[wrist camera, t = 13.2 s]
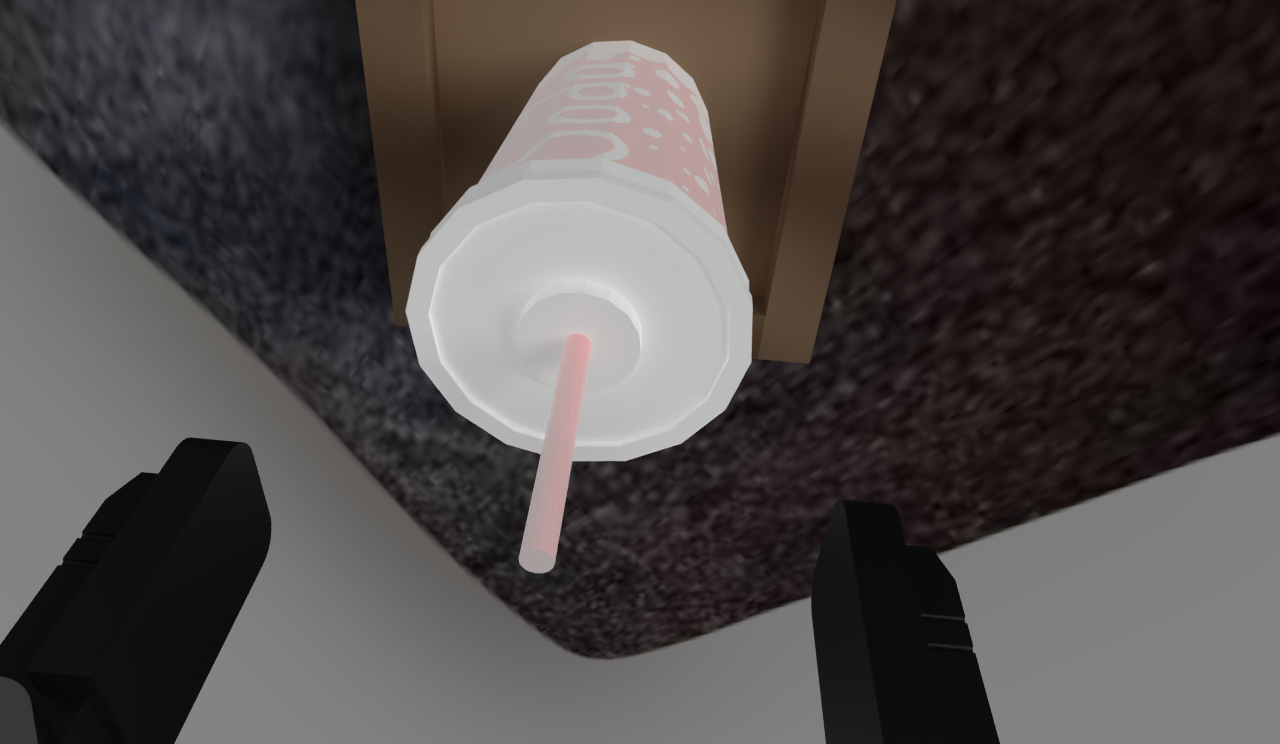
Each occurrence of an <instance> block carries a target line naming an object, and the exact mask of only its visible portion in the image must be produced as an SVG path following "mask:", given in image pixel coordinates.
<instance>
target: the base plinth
mask: <svg viewBox="0 0 1280 744" xmlns="http://www.w3.org/2000/svg"><path fill="white" fill-rule="evenodd" d="M355 2H356V10H357V18H358V26H359V35H360V43H361V51H362V59H363V67H364V75H365V83H366V92H367V100H368V108H369V116H370V124H371V132H372V140H373V148H374V157H375V165H376V173H377V181H378V189H379V197H380V205H381V214H382V222H383V230H384V238H385V246H386V254H387V262H388V270H389V279H390V287H391V295H392V303H393V311H394V319H395V326H406V327H410V326H409V323H408V319H407V315H406V306H407V302H408V297H409V293H410V288H411V284H412V279H413V274H414V270H415V265H416V261H417V256H418V254H419V252H420V250H421V248H422V246H423V245H424V244H425V243H426V242H427V241H428V239H429V238H430V235H431V232H432V231H433V230H434V229H435V228H436V226H437V225H438V224H439V223H440V222H441V221H442V219H443V218H444V217H445V216H446V215H447V214H448V212H449V211H450V210H451V209H452V208H453V206H454V205H455V204H456V203H457V202H458V201H459V199H460V198H461V197H462V196H463V195H464V194H465V192H466V191H467V190H468V189H469V188H470V187H472V186H474V185H476V184H478V183H479V181H480V179H481V178H482V176H483V175H484V173H485V171H486V170H487V168H488V166H489V165H490V163H491V161H492V160H493V158H494V157H495V155H496V153H497V152H498V150H499V148H500V147H501V145H502V144H503V142H504V140H505V139H506V137H507V135H508V134H509V132H510V130H511V129H512V127H513V126H514V124H515V122H516V121H517V119H518V117H519V116H520V114H521V112H522V111H523V109H524V108H525V106H526V104H527V103H528V101H529V99H530V98H531V96H532V94H533V93H534V91H535V90H536V88H537V86H538V85H539V83H540V82H541V81H542V80H543V79H544V77H545V76H546V75H547V74H548V73H549V72H550V70H551V69H552V68H553V67H554V66H555V64H556V63H557V62H558V61H559V60H560V58H562V57H564V56H566V55H568V54H570V53H572V52H574V51H576V50H578V49H580V48H582V47H584V46H586V45H589V44H591V43H593V42H606V41H634V42H636V43H639V44H642V45H644V46H647V47H650V48H652V49H655V50H658V51H660V52H663V53H666V54H667V55H668V56H669V57H670V58H671V59H672V60H673V61H675V62H676V63H677V64H678V65H679V66H680V67H681V68H682V69H683V70H684V71H685V72H686V73H687V74H688V75H690V76H691V77H692V78H693V80H694V82H695V84H696V86H697V89H698V91H699V93H700V95H701V98H702V100H703V102H704V104H705V107H706V109H707V111H708V117H709V123H710V129H711V135H712V142H713V148H714V154H715V160H716V166H717V172H718V179H719V185H720V191H721V197H722V203H723V209H724V215H725V222H726V228H727V234H728V237H729V239H730V242H731V244H732V246H733V248H734V250H735V252H736V254H737V256H738V258H739V261H740V263H741V265H742V267H743V269H744V271H745V273H746V275H747V277H748V280H749V291H750V294H751V296H752V304H753V313H752V354H751V358H754V359H765V360H775V361H786V362H797V363H808V364H809V363H810V359H811V355H812V351H813V346H814V342H815V338H816V334H817V330H818V326H819V321H820V317H821V313H822V309H823V305H824V301H825V296H826V292H827V288H828V284H829V280H830V276H831V271H832V267H833V263H834V259H835V255H836V251H837V246H838V242H839V238H840V234H841V230H842V226H843V221H844V217H845V213H846V209H847V205H848V200H849V196H850V192H851V188H852V184H853V180H854V175H855V171H856V167H857V163H858V159H859V155H860V150H861V146H862V142H863V138H864V134H865V130H866V125H867V121H868V117H869V113H870V109H871V105H872V100H873V96H874V92H875V88H876V84H877V80H878V75H879V71H880V67H881V63H882V59H883V55H884V50H885V46H886V42H887V38H888V34H889V29H890V25H891V21H892V17H893V13H894V9H895V4H896V0H355Z"/></svg>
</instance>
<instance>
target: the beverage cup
mask: <svg viewBox="0 0 1280 744" xmlns="http://www.w3.org/2000/svg"><path fill="white" fill-rule="evenodd" d="M752 313H753V304H752V296H751V294H750V291H749V280H748V277H747V275H746V273H745V271H744V269H743V267H742V265H741V263H740V261H739V258H738V256H737V254H736V252H735V250H734V248H733V246H732V244H731V242H730V239H729V237H728V234H727V228H726V222H725V215H724V209H723V203H722V197H721V191H720V185H719V179H718V172H717V166H716V160H715V154H714V148H713V142H712V135H711V129H710V123H709V117H708V111H707V109H706V107H705V104H704V102H703V100H702V98H701V95H700V93H699V91H698V89H697V86H696V84H695V82H694V80H693V78H692V77H691V76H690V75H688V74H687V73H686V72H685V71H684V70H683V69H682V68H681V67H680V66H679V65H678V64H677V63H676V62H675V61H673V60H672V59H671V58H670V57H669V56H668V55H667V54H666V53H663V52H660V51H658V50H655V49H652V48H650V47H647V46H644V45H642V44H639V43H636V42H634V41H606V42H593V43H591V44H589V45H586V46H584V47H582V48H580V49H578V50H576V51H574V52H572V53H570V54H568V55H566V56H564V57H562V58H560V60H559V61H558V62H557V63H556V64H555V66H554V67H553V68H552V69H551V70H550V72H549V73H548V74H547V75H546V76H545V77H544V79H543V80H542V81H541V82H540V83H539V85H538V86H537V88H536V90H535V91H534V93H533V94H532V96H531V98H530V99H529V101H528V103H527V104H526V106H525V108H524V109H523V111H522V112H521V114H520V116H519V117H518V119H517V121H516V122H515V124H514V126H513V127H512V129H511V130H510V132H509V134H508V135H507V137H506V139H505V140H504V142H503V144H502V145H501V147H500V148H499V150H498V152H497V153H496V155H495V157H494V158H493V160H492V161H491V163H490V165H489V166H488V168H487V170H486V171H485V173H484V175H483V176H482V178H481V179H480V181H479V183H478V184H476V185H474V186H472V187H470V188H469V189H468V190H467V191H466V192H465V194H464V195H463V196H462V197H461V198H460V199H459V201H458V202H457V203H456V204H455V205H454V206H453V208H452V209H451V210H450V211H449V212H448V214H447V215H446V216H445V217H444V218H443V219H442V221H441V222H440V223H439V224H438V225H437V226H436V228H435V229H434V230H433V231H432V232H431V235H430V238H429V239H428V241H427V242H426V243H425V244H424V245H423V246H422V248H421V250H420V252H419V254H418V256H417V261H416V265H415V270H414V274H413V279H412V284H411V288H410V293H409V297H408V302H407V306H406V315H407V319H408V323H409V326H410V330H411V334H412V338H413V341H414V345H415V349H416V353H417V357H418V360H419V364H420V366H421V368H422V369H423V370H424V371H425V373H426V374H427V375H428V377H429V378H430V379H431V380H432V382H433V383H434V384H435V386H436V387H437V388H438V389H439V391H440V392H441V393H442V394H443V396H444V397H445V398H446V400H447V401H448V402H449V403H450V405H451V406H452V407H453V409H454V410H455V411H456V412H457V413H459V414H461V415H462V416H464V417H465V418H467V419H468V420H470V421H471V422H473V423H474V424H476V425H478V426H479V427H481V428H482V429H484V430H485V431H487V432H488V433H490V434H491V435H493V436H495V437H496V438H498V439H499V440H501V441H502V442H504V443H505V444H508V445H511V446H515V447H518V448H522V449H525V450H529V451H532V452H535V453H539V454H541V457H540V461H539V466H538V471H537V476H536V480H535V485H534V490H533V494H532V499H531V504H530V509H529V513H528V518H527V523H526V527H525V532H524V537H523V542H522V546H521V551H520V556H519V563H520V565H521V566H522V567H523V568H524V569H526V570H528V571H530V572H534V573H544V572H548V571H550V570H551V569H552V568H553V566H554V564H555V559H556V553H557V547H558V541H559V535H560V529H561V524H562V518H563V512H564V506H565V500H566V494H567V488H568V483H569V477H570V471H571V465H572V461H627V460H630V459H633V458H636V457H639V456H643V455H646V454H649V453H652V452H655V451H659V450H662V449H665V448H668V447H671V446H675V445H678V444H681V443H682V442H684V441H685V440H686V439H688V438H689V437H690V436H691V435H693V434H694V433H695V432H697V431H698V430H699V429H701V428H702V427H703V426H705V425H706V424H707V423H708V422H710V421H711V420H712V419H714V418H715V417H716V416H718V415H719V414H720V413H722V412H723V411H724V410H725V409H726V407H727V406H728V404H729V402H730V400H731V398H732V396H733V395H734V393H735V391H736V389H737V387H738V385H739V384H740V382H741V380H742V378H743V376H744V374H745V373H746V371H747V369H748V367H749V365H750V363H751V354H752Z"/></svg>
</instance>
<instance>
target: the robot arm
mask: <svg viewBox="0 0 1280 744" xmlns="http://www.w3.org/2000/svg"><path fill="white" fill-rule="evenodd" d="M82 533H83V534H82V537H81V538H77V540H76V541H75V543H74V544H73V545H72V546H71V548H70V549H69V551H68V552H67V554H66V555H65V556H64V558H63V564H62V565H58V566H57V567H56V569H55V570H54V571H53V573H52V574H51V576H50V577H49V578H48V580H47V581H46V582H45V584H44V585H43V587H42V588H41V589H40V591H39V592H38V593H37V595H36V596H35V598H34V599H33V601H32V602H31V603H30V605H29V606H28V607H27V609H26V610H25V612H24V613H23V614H22V616H21V617H20V618H19V620H18V621H17V623H16V624H15V625H14V627H13V628H12V629H11V631H10V632H9V634H8V635H7V636H6V638H5V639H4V641H3V642H2V643H1V645H0V744H174V743H175V741H176V739H177V737H178V735H179V733H180V731H181V729H182V727H183V725H184V723H185V721H186V719H187V717H188V715H189V713H190V711H191V709H192V707H193V704H194V703H195V701H196V699H197V696H198V694H199V692H200V690H201V688H202V686H203V684H204V682H205V680H206V678H207V676H208V674H209V672H210V670H211V668H212V666H213V664H214V662H215V660H216V658H217V656H218V654H219V652H220V650H221V648H222V646H223V644H224V642H225V640H226V638H227V636H228V634H229V632H230V630H231V628H232V626H233V624H234V622H235V619H236V618H237V616H238V614H239V612H240V610H241V608H242V606H243V604H244V602H245V600H246V598H247V596H248V594H249V592H250V590H251V588H252V586H253V583H254V582H255V579H256V577H257V575H258V573H259V571H260V569H261V567H262V565H263V563H264V561H265V559H266V556H267V552H268V549H269V545H270V539H271V518H270V513H269V510H268V506H267V503H266V499H265V495H264V492H263V488H262V485H261V481H260V477H259V474H258V470H257V467H256V463H255V460H254V456H253V453H252V450H251V448H250V446H249V445H248V444H246V443H243V442H233V441H221V440H211V439H200V438H186V439H185V440H183V441H182V442H181V443H180V444H179V445H178V446H177V447H176V449H175V450H174V452H173V453H172V455H171V456H170V458H169V459H168V460H167V462H166V463H165V465H164V466H163V468H162V469H161V471H160V472H159V474H155V473H144V472H141V473H140V474H139V475H137V476H136V477H135V478H133V479H132V480H131V481H129V482H128V483H127V484H125V485H124V486H123V487H121V488H120V489H119V490H117V491H116V492H115V493H114V494H112V495H111V496H109V497H108V498H107V499H106V500H105V501H104V502H103V504H102V505H101V507H100V508H99V509H98V511H97V512H96V513H95V515H94V516H93V517H92V519H91V520H90V522H89V523H88V524H87V526H86V527H85V529H84V530H83V531H82ZM811 601H812V602H811V605H812V606H811V608H812V621H813V629H814V638H815V647H816V657H817V666H818V675H819V683H820V693H821V702H822V711H823V720H824V729H825V738H826V744H1000V742H999V738H998V735H997V731H996V727H995V724H994V720H993V716H992V713H991V709H990V705H989V702H988V698H987V694H986V691H985V687H984V683H983V680H982V676H981V673H980V669H979V665H978V661H977V658H976V654H975V653H973V644H972V639H971V636H970V632H969V629H968V625H967V623H965V620H964V619H965V614H964V610H963V607H962V603H961V599H960V595H959V592H958V589H957V584H956V581H955V579H954V578H953V576H952V575H951V574H950V572H949V571H948V570H947V568H946V567H945V566H944V564H943V563H942V562H941V560H940V559H939V557H938V556H937V555H936V553H935V552H934V551H933V549H932V548H930V547H919V546H908V545H905V541H904V537H903V532H902V528H901V523H900V519H899V515H898V512H897V509H896V508H895V506H894V505H891V504H880V503H869V502H859V501H848V500H838V501H837V502H836V503H835V505H834V508H833V511H832V515H831V518H830V521H829V524H828V528H827V531H826V534H825V538H824V541H823V544H822V548H821V551H820V554H819V557H818V561H817V564H816V567H815V571H814V576H813V583H812V597H811Z"/></svg>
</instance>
